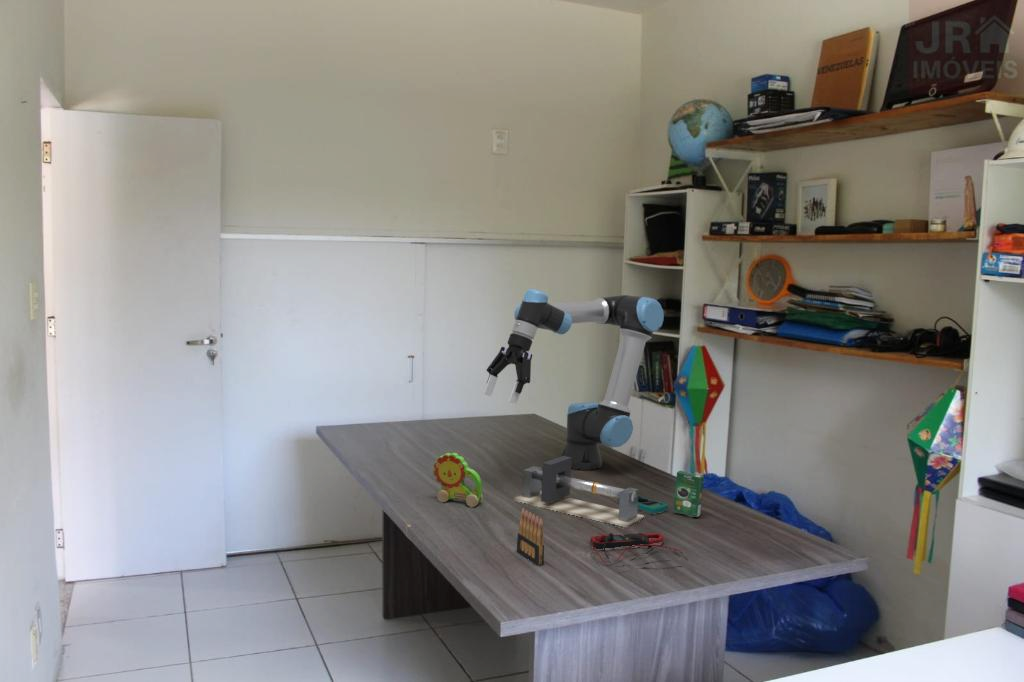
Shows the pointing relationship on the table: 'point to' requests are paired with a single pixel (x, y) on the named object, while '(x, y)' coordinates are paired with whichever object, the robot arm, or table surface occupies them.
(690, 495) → the coffee box
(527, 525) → the ammunition clip
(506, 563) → the table surface
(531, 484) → the pipe
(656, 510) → the digital multimeter
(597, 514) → the board
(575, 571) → the table surface
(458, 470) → the toy lion
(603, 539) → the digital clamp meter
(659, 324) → the robot arm
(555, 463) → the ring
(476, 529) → the table surface
